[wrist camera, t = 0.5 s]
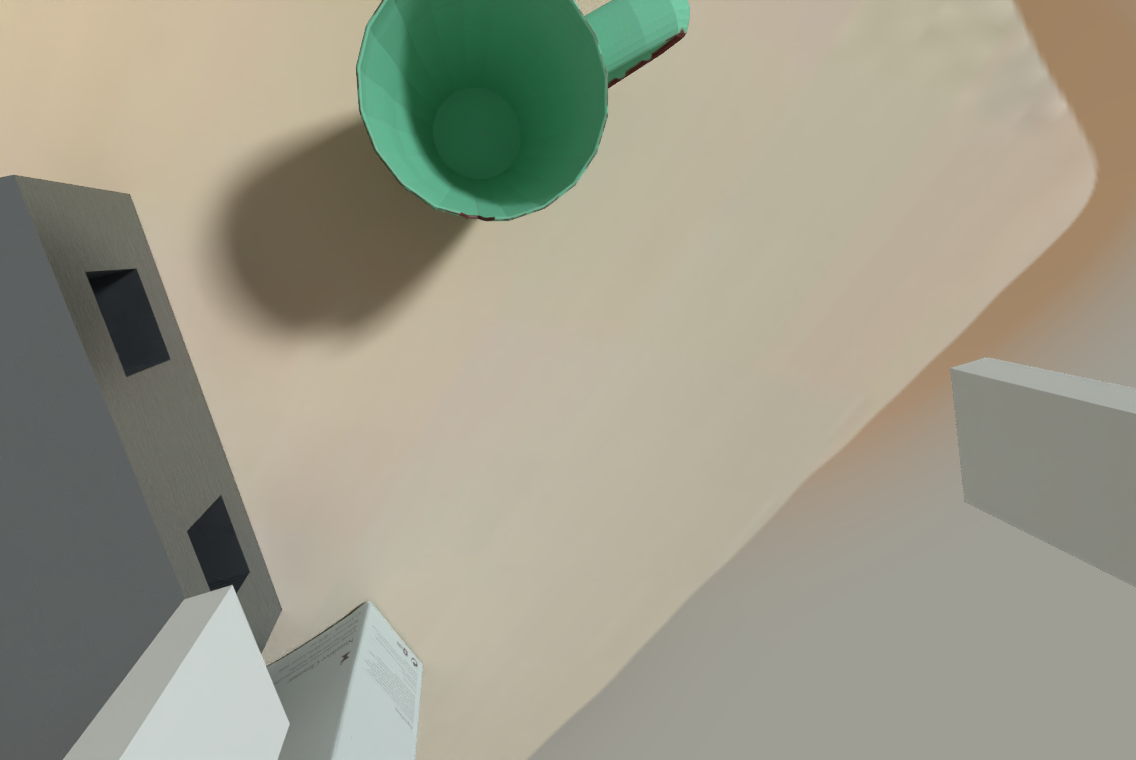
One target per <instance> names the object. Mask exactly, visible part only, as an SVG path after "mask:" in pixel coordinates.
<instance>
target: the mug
mask: <svg viewBox="0 0 1136 760" xmlns="http://www.w3.org/2000/svg"><path fill="white" fill-rule="evenodd" d="M689 16H690V7H689V3H688V0H612V1H610V2H608V3H607V4H605V5H603V6H601V7H600V8H598V9H596V10H594V11H593V12H591V13H589V14H587V15H586V16H584V15H583V14H582V12H581V11H580V9H579V7H578V6H577V4H576V3H575V1H574V0H382V1H381V3H380V5H379V6H378V8H377V9H376V11H375V12H374V14H373V15H372V17H371V19H370V20H369V22H368V23H367V25H366V28H365V32H364V36H363V40H362V44H361V48H360V52H359V56H358V61H357V65H356V76H357V90H358V104H359V112H360V115H361V117H362V120H363V122H364V125H365V128H366V130H367V133H368V135H369V138H370V140H371V143H372V146H373V148H374V151H375V152H376V154H377V155H378V156H379V157H380V159H381V160H382V161H383V163H384V164H385V165H386V166H387V168H388V169H389V170H390V172H391V173H392V174H393V175H394V177H395V178H396V179H397V181H398V182H399V183H400V184H401V186H402V187H404V188H405V189H407V190H408V191H409V192H411V193H412V194H414V195H415V196H417V197H418V198H419V199H421V200H422V201H424V202H425V203H426V204H428V205H429V206H431V207H432V208H433V209H435V210H439V211H442V212H446V213H449V214H453V215H456V216H460V217H463V218H467V219H481V220H483V221H510V220H513V219H516V218H519V217H522V216H525V215H527V214H530V213H533V212H536V211H539V210H542V209H545V208H546V207H548V206H549V205H550V204H551V203H553V202H554V201H555V200H557V199H558V198H559V197H561V196H562V195H563V194H564V193H566V192H567V191H568V190H570V189H571V188H572V187H574V186H575V185H576V183H577V182H578V180H579V179H580V177H581V176H582V174H583V173H584V171H585V170H586V169H587V167H588V166H589V164H590V163H591V161H592V160H593V158H594V157H595V155H596V154H597V151H598V147H599V144H600V141H601V137H602V134H603V131H604V127H605V124H606V121H607V117H608V88H610V87H611V86H613V85H614V84H616V83H617V82H619V81H620V80H622V79H624V78H625V77H627V76H628V75H630V74H631V73H633V72H635V71H636V70H638V69H639V68H641V67H642V66H644V65H645V64H647V63H649V62H650V61H652V60H653V59H655V58H656V57H658V56H659V55H661V54H662V53H664V52H665V51H666V50H668V49H669V48H670V47H672V46H673V45H674V44H676V43H677V42H678V41H680V40H681V39H682V38H684V36H685V35H686V33H687V29H688V24H689Z"/></svg>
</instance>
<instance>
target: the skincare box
mask: <svg viewBox="0 0 1136 760" xmlns="http://www.w3.org/2000/svg"><path fill="white" fill-rule="evenodd" d="M266 668H267V670H268V672H269V675H270V677H271V680H272V682H273V685H274V687H275V689H276V692H277V694H278V697H279V699H280V701H281V704H282V706H283V709H284V711H285V714H286V716H287V718H288V721H289V723H290V724H289V727H288V730H287V733H286V736H285V739H284V742H283V745H282V748H281V751H280V754H279V757H278V760H415V758H416V746H417V733H418V721H419V709H420V697H421V685H422V674H423V665H422V664H421V662H420V661H419V660H418V659H417V657H416V656H415V655H414V654H413V652H412V651H411V650H410V649H409V648H408V647H407V646H406V644H405V643H404V642H403V641H402V639H401V638H400V637H399V636H398V634H397V633H396V632H395V631H394V629H393V628H392V627H391V625H390V624H389V623H388V622H387V620H386V619H385V618H384V617H383V616H382V615H381V613H380V612H379V611H378V610H377V608H376V607H375V606H374V605H373V604H372V602H366V603H364V604H363V605H362V606H360V607H359V608H358V609H356V610H355V611H354V612H353V613H352V614H350V615H349V616H347V617H346V618H344V619H343V620H342V621H340V622H339V623H337V624H336V625H334V626H333V627H331V628H330V629H328V630H327V631H325V632H324V633H322V634H321V635H319V636H318V637H316V638H314V639H313V640H311V641H310V642H308V643H307V644H305V645H303V646H302V647H300V648H299V649H297V650H295V651H294V652H292V653H290V654H289V655H287V656H285V657H283V658H282V659H280V660H278V661H277V662H275V663H273V664H271V665H269V666H267V667H266Z"/></svg>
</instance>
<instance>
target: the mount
mask: <svg viewBox="0 0 1136 760" xmlns="http://www.w3.org/2000/svg"><path fill="white" fill-rule="evenodd" d="M230 585H233V588H234V590H235V592H236V595H237V597H238V600H239V602H240V605H241V607H242V609H243V612H244V614H245V617H246V619H247V622H248V624H249V626H250V629H251V631H252V634H253V636H254V638H255V641H256V643H257V646H258V648H259V651H260V653H262V651H263V649H264V647H265V645H266V643H267V640H268V638H269V636H270V634H271V632H272V630H273V628H274V626H275V623H276V621H277V619H278V617H279V615H280V613H281V611H282V608H281V606H280V603H279V600H278V597H277V595H276V592H275V589H274V586H273V584H272V581H271V578H270V575H269V573H268V570H267V567H266V565H265V562H264V559H263V556H262V554H261V551H260V548H259V545H258V543H257V540H256V537H255V535H254V532H253V529H252V526H251V524H250V521H249V518H248V515H247V513H246V510H245V507H244V505H243V502H242V499H241V496H240V494H239V491H238V488H237V485H236V483H235V480H234V477H233V475H232V472H231V469H230V466H229V464H228V461H227V458H226V455H225V453H224V450H223V447H222V444H221V442H220V439H219V436H218V434H217V431H216V428H215V425H214V423H213V420H212V417H211V414H210V412H209V409H208V406H207V404H206V401H205V398H204V395H203V393H202V390H201V387H200V384H199V382H198V379H197V376H196V374H195V371H194V368H193V365H192V363H191V360H190V357H189V354H188V352H187V349H186V346H185V343H184V341H183V338H182V335H181V333H180V330H179V327H178V324H177V322H176V319H175V316H174V313H173V311H172V308H171V305H170V303H169V300H168V297H167V294H166V292H165V289H164V286H163V283H162V281H161V278H160V275H159V273H158V270H157V267H156V264H155V262H154V259H153V256H152V253H151V251H150V248H149V245H148V242H147V240H146V237H145V234H144V232H143V229H142V226H141V223H140V221H139V218H138V215H137V212H136V210H135V207H134V204H133V202H132V199H131V196H130V194H126V193H120V192H114V191H108V190H102V189H96V188H90V187H84V186H78V185H72V184H66V183H60V182H54V181H48V180H42V179H36V178H30V177H24V176H17V175H11V176H6V177H1V178H0V760H63V759H64V758H65V756H66V755H67V754H68V752H69V751H70V750H71V748H72V747H73V746H74V744H75V743H76V742H77V740H78V739H79V738H80V736H81V735H82V734H83V732H84V731H85V730H86V728H87V727H88V726H89V725H90V723H91V722H92V721H93V719H94V718H95V717H96V715H97V714H98V713H99V711H100V710H101V709H102V707H103V706H104V705H105V703H106V702H107V701H108V699H109V698H110V697H111V695H112V694H113V693H114V692H115V690H116V689H117V688H118V686H119V685H120V684H121V682H122V681H123V680H124V678H125V677H126V676H127V674H128V673H129V672H130V670H131V669H132V668H133V666H134V665H135V664H136V662H137V661H138V660H139V658H140V657H141V656H142V655H143V653H144V652H145V651H146V649H147V648H148V647H149V645H150V644H151V643H152V641H153V640H154V639H155V637H156V636H157V635H158V633H159V632H160V631H161V629H162V628H163V627H164V625H165V624H166V623H167V622H168V620H169V619H170V618H171V616H172V615H173V614H174V612H175V611H176V610H177V608H178V607H179V606H180V604H181V603H182V602H183V600H184V599H187V598H191V597H194V596H197V595H201V594H204V593H207V592H211V591H214V590H217V589H220V588H224V587H227V586H230Z"/></svg>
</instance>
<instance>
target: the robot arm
mask: <svg viewBox="0 0 1136 760" xmlns="http://www.w3.org/2000/svg"><path fill="white" fill-rule="evenodd" d="M950 371H951V381H952V390H953V400H954V409H955V418H956V426H957V427H956V428H957V436H958V446H959V456H960V464H961V474H962V483H963V492H964V501H965V502H966V503H968V504H970V505H972V506H974V507H976V508H978V509H980V510H982V511H984V512H986V513H988V514H990V515H992V516H994V517H996V518H998V519H1000V520H1002V521H1004V522H1006V523H1008V524H1010V525H1012V526H1014V527H1016V528H1018V529H1020V530H1022V531H1024V532H1026V533H1028V534H1030V535H1032V536H1034V537H1036V538H1038V539H1040V540H1042V541H1044V542H1046V543H1048V544H1050V545H1052V546H1054V547H1056V548H1058V549H1060V550H1062V551H1064V552H1066V553H1068V554H1070V555H1072V556H1074V557H1076V558H1078V559H1080V560H1083V561H1084V562H1086V563H1088V564H1090V565H1092V566H1094V567H1096V568H1098V569H1100V570H1102V571H1104V572H1106V573H1108V574H1110V575H1112V576H1114V577H1116V578H1118V579H1120V580H1122V581H1124V582H1126V583H1128V584H1130V585H1132V586H1134V587H1136V388H1132V387H1127V386H1122V385H1117V384H1113V383H1108V382H1103V381H1098V380H1093V379H1089V378H1084V377H1079V376H1074V375H1069V374H1065V373H1060V372H1055V371H1050V370H1045V369H1041V368H1036V367H1031V366H1026V365H1021V364H1016V363H1011V362H1007V361H1002V360H997V359H992V358H988V357H986V358H983V359H979V360H976V361H973V362H969V363H966V364H963V365H960V366H956V367H953V368H950ZM289 724H290V723H289V721H288V718H287V716H286V714H285V711H284V709H283V706H282V704H281V701H280V699H279V697H278V694H277V692H276V689H275V687H274V685H273V682H272V680H271V677H270V675H269V672H268V670H267V668H266V665H265V663H264V660H263V658H262V655H261V653H260V651H259V648H258V646H257V643H256V641H255V638H254V636H253V634H252V631H251V629H250V626H249V624H248V622H247V619H246V617H245V614H244V612H243V609H242V607H241V605H240V602H239V600H238V597H237V595H236V592H235V590H234V588H233V585H230V586H227V587H224V588H220V589H217V590H214V591H211V592H207V593H204V594H201V595H197V596H194V597H191V598H187V599H184V600H183V602H182V603H181V604H180V606H179V607H178V608H177V610H176V611H175V612H174V614H173V615H172V616H171V618H170V619H169V620H168V622H167V623H166V624H165V625H164V627H163V628H162V629H161V631H160V632H159V633H158V635H157V636H156V637H155V639H154V640H153V641H152V643H151V644H150V645H149V647H148V648H147V649H146V651H145V652H144V653H143V655H142V656H141V657H140V658H139V660H138V661H137V662H136V664H135V665H134V666H133V668H132V669H131V670H130V672H129V673H128V674H127V676H126V677H125V678H124V680H123V681H122V682H121V684H120V685H119V686H118V688H117V689H116V690H115V692H114V693H113V694H112V695H111V697H110V698H109V699H108V701H107V702H106V703H105V705H104V706H103V707H102V709H101V710H100V711H99V713H98V714H97V715H96V717H95V718H94V719H93V721H92V722H91V723H90V725H89V726H88V727H87V728H86V730H85V731H84V732H83V734H82V735H81V736H80V738H79V739H78V740H77V742H76V743H75V744H74V746H73V747H72V748H71V750H70V751H69V752H68V754H67V755H66V756H65V758H64V759H63V760H278V757H279V754H280V751H281V748H282V745H283V742H284V739H285V736H286V733H287V730H288V727H289Z"/></svg>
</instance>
